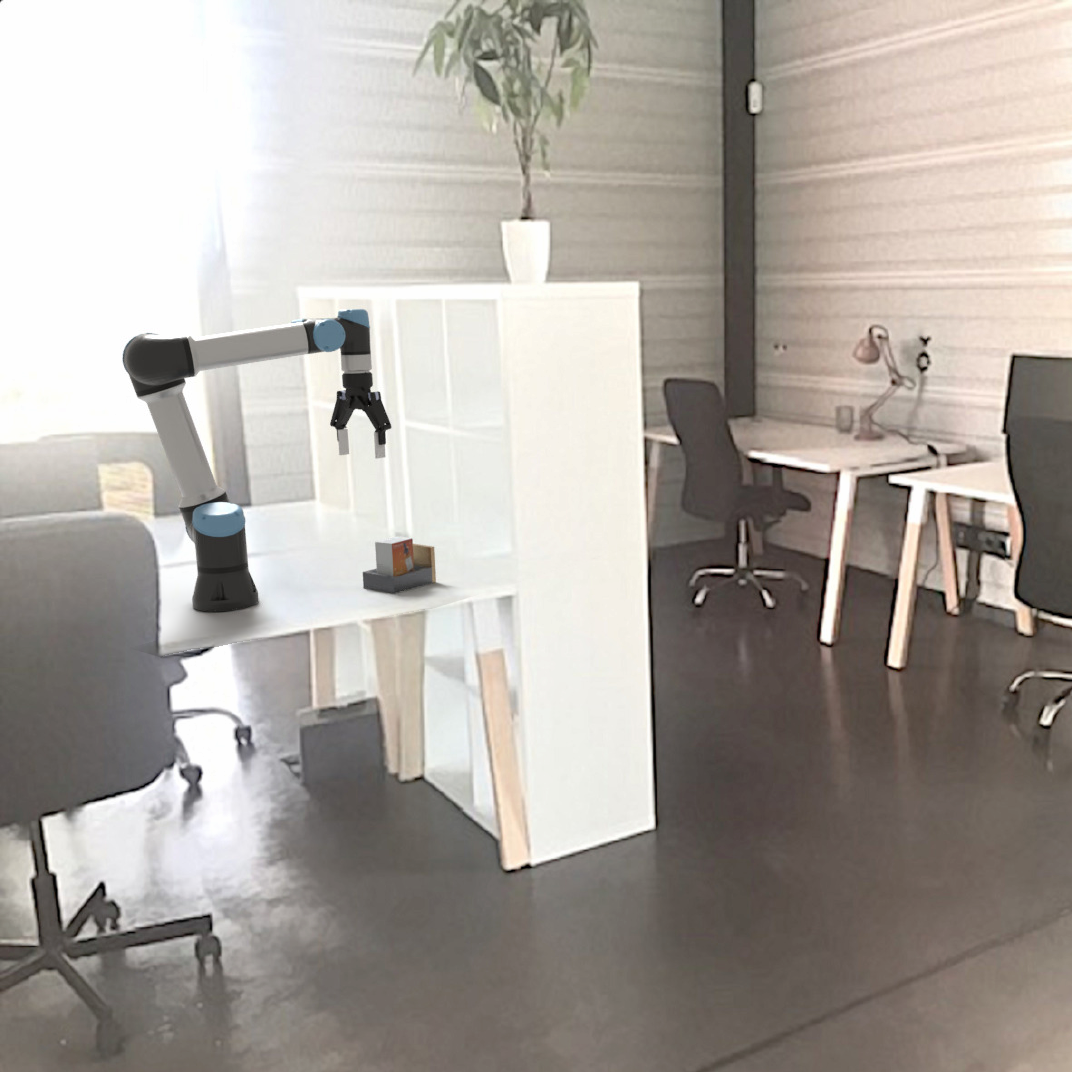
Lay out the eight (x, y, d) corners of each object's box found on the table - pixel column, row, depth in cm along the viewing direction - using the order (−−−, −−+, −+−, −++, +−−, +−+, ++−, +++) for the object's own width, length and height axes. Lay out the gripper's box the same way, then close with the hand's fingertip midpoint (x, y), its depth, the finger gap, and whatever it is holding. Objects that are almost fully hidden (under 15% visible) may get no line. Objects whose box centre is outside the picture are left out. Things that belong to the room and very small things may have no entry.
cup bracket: (363, 587, 291) (361, 552, 289) (405, 576, 302) (403, 542, 300) (394, 593, 284) (392, 557, 282) (436, 582, 295) (434, 546, 293)
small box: (393, 586, 288) (391, 543, 286) (376, 583, 291) (374, 541, 289) (415, 579, 294) (413, 537, 292) (398, 576, 297) (396, 535, 295)
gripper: (402, 371, 290) (407, 457, 295) (335, 370, 306) (340, 451, 310) (380, 373, 285) (385, 461, 289) (312, 372, 301) (318, 455, 305)
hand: (362, 456), depth 300 cm, fingers open, 13 cm apart
